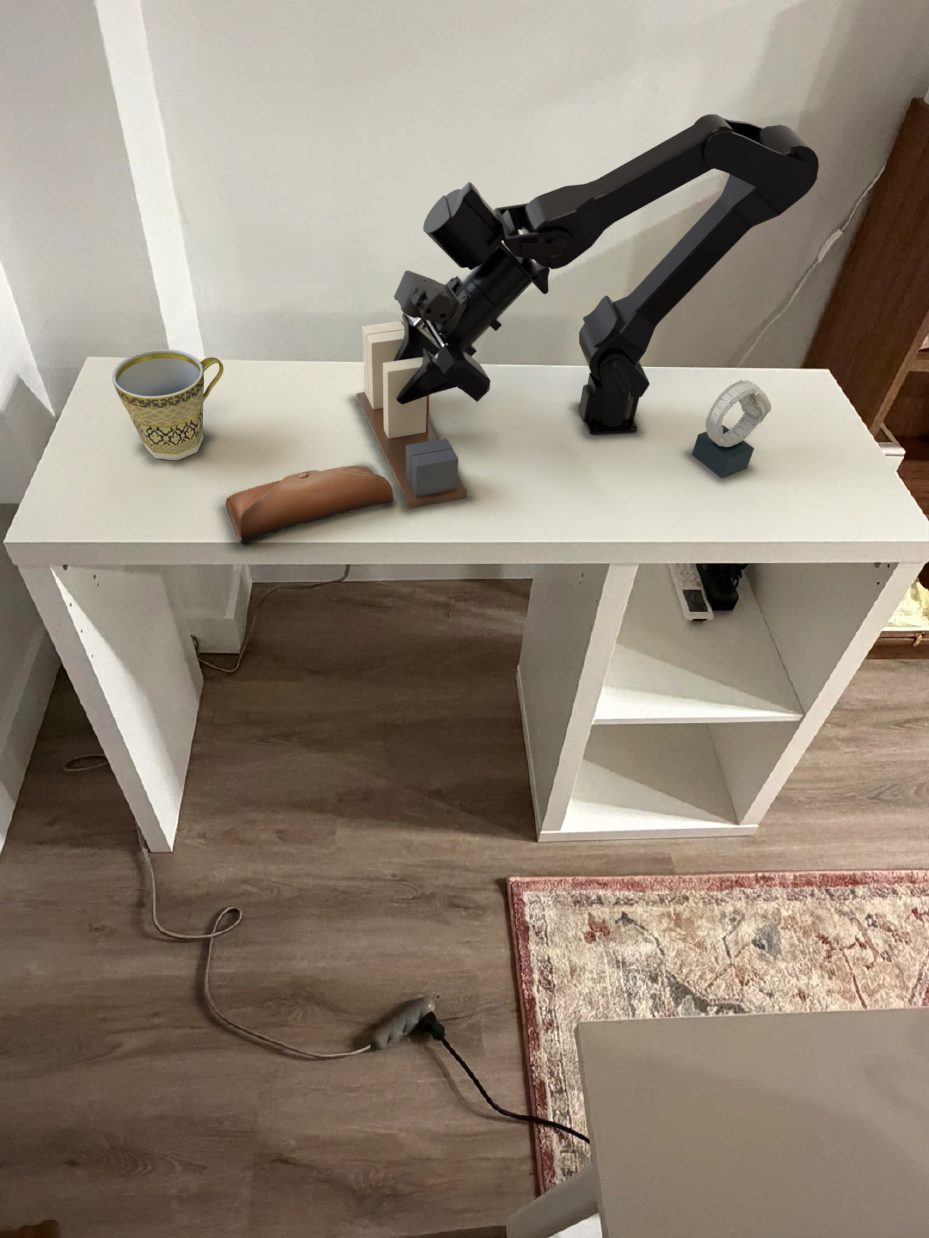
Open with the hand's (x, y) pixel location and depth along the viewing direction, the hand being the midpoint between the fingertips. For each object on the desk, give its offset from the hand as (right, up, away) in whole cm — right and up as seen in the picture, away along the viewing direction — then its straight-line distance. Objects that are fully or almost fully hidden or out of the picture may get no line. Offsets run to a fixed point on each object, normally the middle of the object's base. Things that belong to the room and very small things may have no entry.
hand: (393, 391), depth 103 cm
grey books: (+5, -12, -1) cm, 13 cm away
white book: (+1, -4, +5) cm, 6 cm away
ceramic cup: (-26, -5, +3) cm, 27 cm away
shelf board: (+2, -6, +5) cm, 7 cm away
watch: (+41, -7, +6) cm, 42 cm away
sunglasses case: (-9, -14, -4) cm, 18 cm away
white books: (-2, +2, +9) cm, 10 cm away
